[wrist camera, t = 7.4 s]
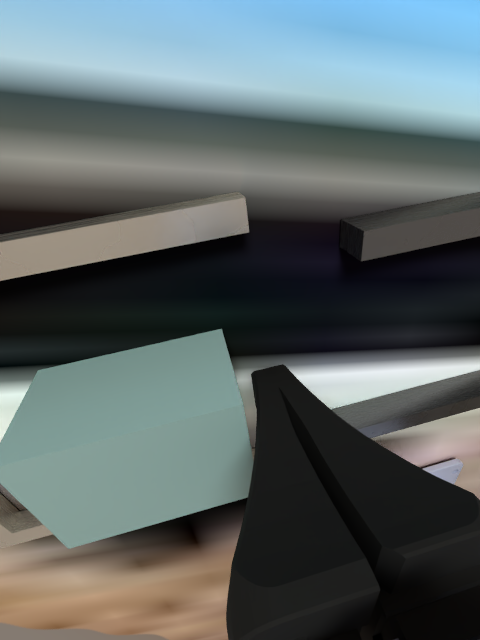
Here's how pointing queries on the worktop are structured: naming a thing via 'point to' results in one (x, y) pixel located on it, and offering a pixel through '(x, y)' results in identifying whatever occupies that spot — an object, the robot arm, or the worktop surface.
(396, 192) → the worktop surface
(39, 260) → the chute
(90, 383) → the painted block
